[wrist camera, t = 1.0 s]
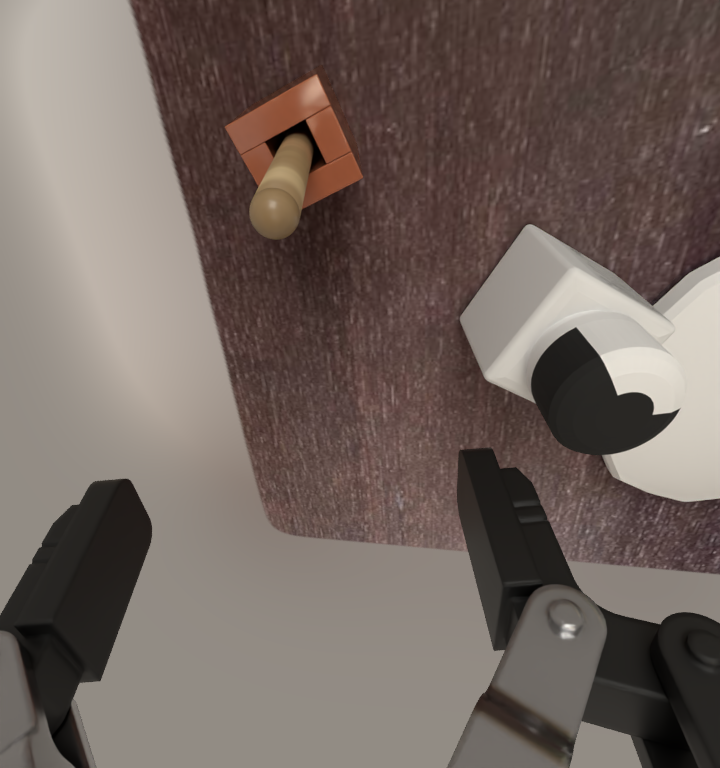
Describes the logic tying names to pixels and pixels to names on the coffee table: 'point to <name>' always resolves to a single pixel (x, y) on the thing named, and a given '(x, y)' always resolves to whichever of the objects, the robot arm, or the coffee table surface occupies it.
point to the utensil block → (326, 122)
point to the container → (575, 346)
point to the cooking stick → (284, 185)
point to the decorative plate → (685, 400)
